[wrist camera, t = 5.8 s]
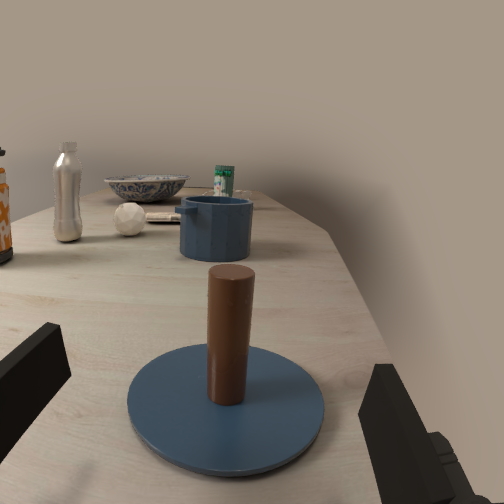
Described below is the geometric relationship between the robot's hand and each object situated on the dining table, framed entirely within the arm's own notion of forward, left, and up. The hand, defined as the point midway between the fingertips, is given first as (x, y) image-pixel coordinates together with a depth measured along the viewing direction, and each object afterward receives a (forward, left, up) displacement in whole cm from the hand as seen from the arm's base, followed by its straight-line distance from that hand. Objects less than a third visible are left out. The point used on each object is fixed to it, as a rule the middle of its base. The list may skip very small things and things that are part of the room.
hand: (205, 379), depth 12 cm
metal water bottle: (+56, -19, -8) cm, 59 cm away
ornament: (+51, -32, -8) cm, 61 cm away
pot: (+30, -36, -8) cm, 47 cm away
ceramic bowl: (+94, -70, -8) cm, 117 cm away
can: (+62, -78, -8) cm, 100 cm away
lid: (+4, -6, -7) cm, 10 cm away
